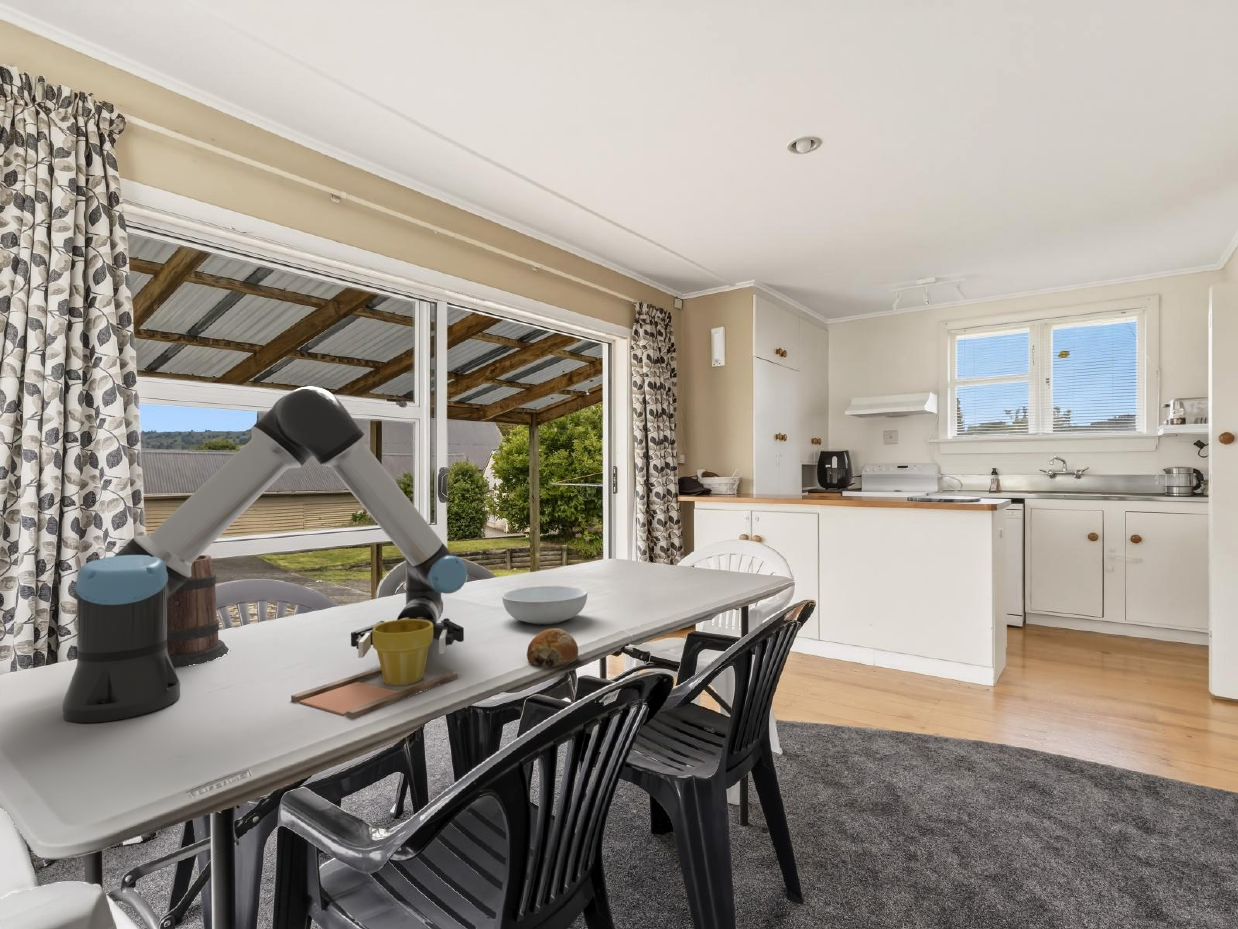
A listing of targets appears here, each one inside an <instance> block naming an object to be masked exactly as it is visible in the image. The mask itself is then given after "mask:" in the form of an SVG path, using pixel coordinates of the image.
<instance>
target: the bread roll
mask: <svg viewBox="0 0 1238 929" xmlns="http://www.w3.org/2000/svg"><path fill="white" fill-rule="evenodd" d="M578 657H579V646H578V644H577V642H576V640H575V638H574V637H573V636H572V635H571V633H568V632H567V631H565V630H563V629H561V628H556V627H555V628H554V627H553V628H548V629H545V630H544V629H543V630H542V631H540V632H539V633H538V634H537V635H536V636H535V637H533V638H532V640H531V641H530V643H529V644H528V646H527V652H526V658H527V661H528V662H529V663H530V664H531V665H533V666H537V667H543V668H551V667H552V668H553V667H562V666H568V665H569V664H572V663H574V662H575V661H576V660H577V659H578Z"/></svg>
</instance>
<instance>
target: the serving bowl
mask: <svg viewBox="0 0 1238 929" xmlns="http://www.w3.org/2000/svg"><path fill="white" fill-rule="evenodd" d="M501 599H502V603H503V607H504V610H506V612H507V614H509V615H510V617H512V618H514V619H516V620H518V621H521V622H525V623H529V624H531V623H532V625H541V624H544V625H553V624H554V623H555V624H559V623H561V622H563V621H567V620H570V619H572V618H574V617H575V616H578V614H580V613H581V611H583V609H584V608H585V605H586V603H587V600H588V591H587V590H586V589H584V588H581V587H578V586H572V585H571V586H570V585H539V586H529V587H527V586H526V587H522V588H515V589H511V590H508V591H506V592H504V593H503V594H502V595H501Z"/></svg>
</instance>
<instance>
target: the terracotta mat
mask: <svg viewBox="0 0 1238 929" xmlns="http://www.w3.org/2000/svg"><path fill="white" fill-rule="evenodd" d="M397 692H398V690H397V691H396V690H394V689H393V690H392V689H389V688H384V687H379V686H375V685H371V684H367V683H364V682H360V681H359V682H355V683H352V684H349V685H346V686H343V687H340V688H337V689H334V690H331V691H328V692H325V693H322V694H319V695H316V696H313V697H310V698H307V699H304V700H301V701H299V703H300V704H303V705H306V706H309V707H313V708H316V709H320V710H324V711H327V712H330V713H333V714H337V715H340V716H347V711H348V710H351V709H354V708H356V707H359V706H362V705H365V704H367V703H370V702H373V701H375V700H378V699H381V698H384V697H386V696H389V695H392V694H394V693H397Z"/></svg>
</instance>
